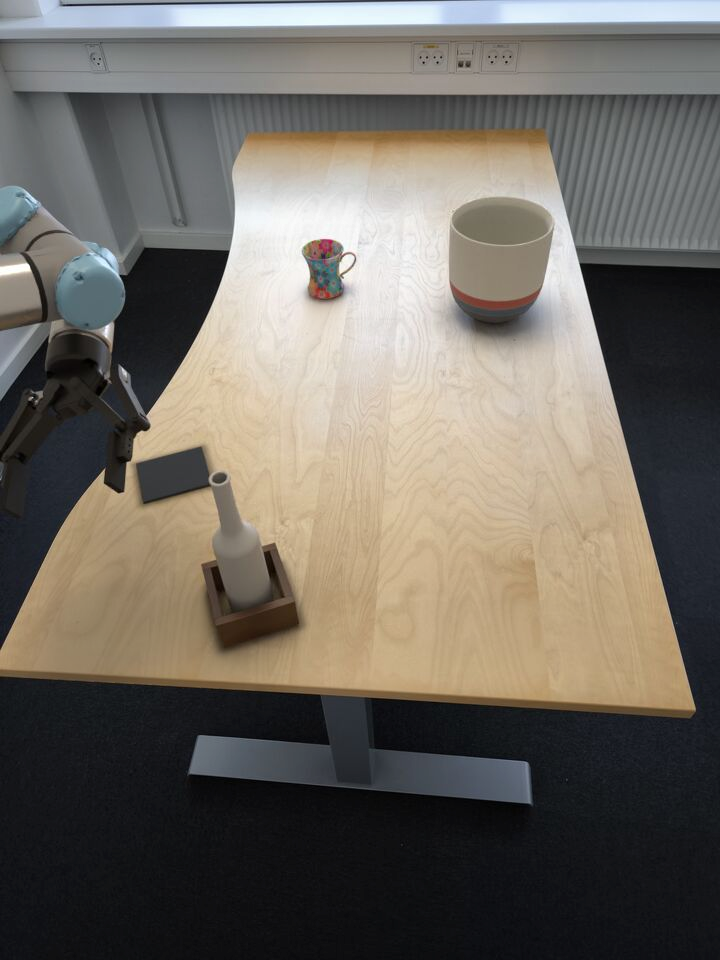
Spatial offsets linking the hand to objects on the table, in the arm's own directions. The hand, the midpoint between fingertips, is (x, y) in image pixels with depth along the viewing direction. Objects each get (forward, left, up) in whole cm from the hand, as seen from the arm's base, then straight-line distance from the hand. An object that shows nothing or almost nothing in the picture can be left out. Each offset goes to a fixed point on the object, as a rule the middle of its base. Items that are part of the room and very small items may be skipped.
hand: (61, 501), depth 82 cm
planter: (+84, +58, -33) cm, 108 cm away
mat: (+10, +34, -33) cm, 49 cm away
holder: (+17, +2, -33) cm, 37 cm away
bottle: (+17, +2, -33) cm, 37 cm away
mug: (+54, +80, -33) cm, 102 cm away
